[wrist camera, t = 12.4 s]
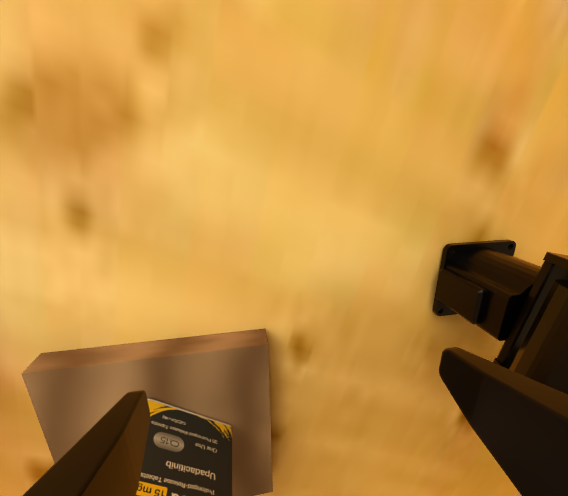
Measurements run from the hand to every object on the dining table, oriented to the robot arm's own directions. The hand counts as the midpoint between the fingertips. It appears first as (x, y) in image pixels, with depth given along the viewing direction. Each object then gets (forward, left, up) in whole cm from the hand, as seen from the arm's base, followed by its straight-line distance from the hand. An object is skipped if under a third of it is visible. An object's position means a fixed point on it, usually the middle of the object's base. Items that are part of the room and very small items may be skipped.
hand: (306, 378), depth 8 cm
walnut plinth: (+8, +15, -13) cm, 21 cm away
